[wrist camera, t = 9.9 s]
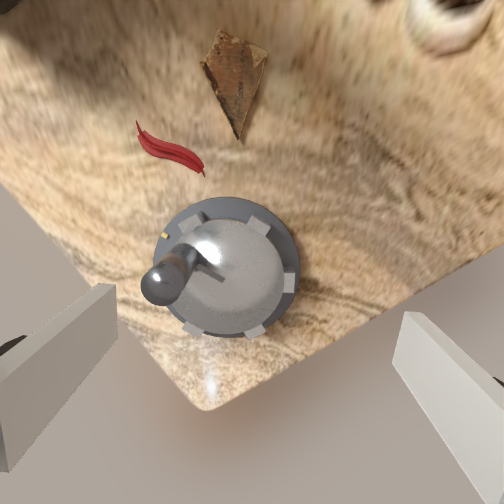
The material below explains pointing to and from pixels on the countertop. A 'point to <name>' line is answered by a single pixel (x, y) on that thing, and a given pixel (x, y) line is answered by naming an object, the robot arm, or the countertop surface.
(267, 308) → the tabbed dome lid
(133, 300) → the countertop surface
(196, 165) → the cayenne pepper
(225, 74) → the shard
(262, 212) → the base plate
